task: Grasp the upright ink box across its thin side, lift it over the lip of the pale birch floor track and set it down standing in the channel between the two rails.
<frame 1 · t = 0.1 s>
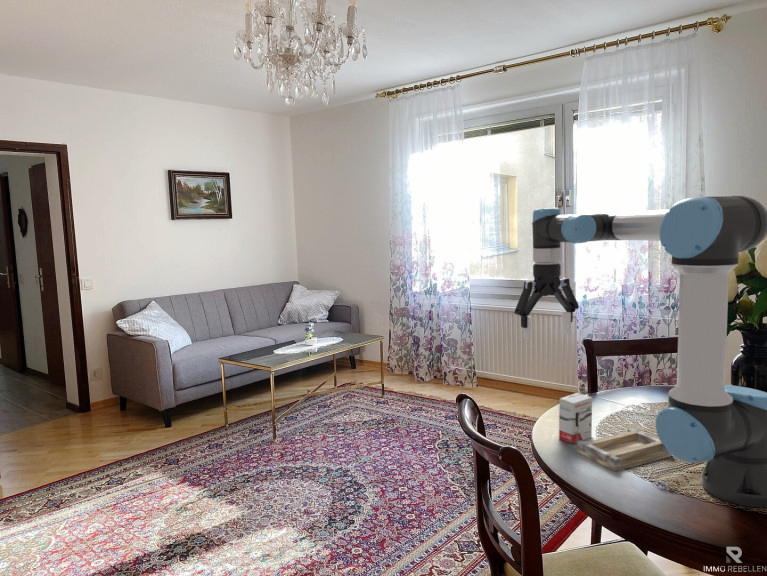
hand: (547, 336, 159), 28 cm above the table, fingers open, 13 cm apart
ink box: (575, 438, 155), on the table
track: (623, 453, 143), on the table
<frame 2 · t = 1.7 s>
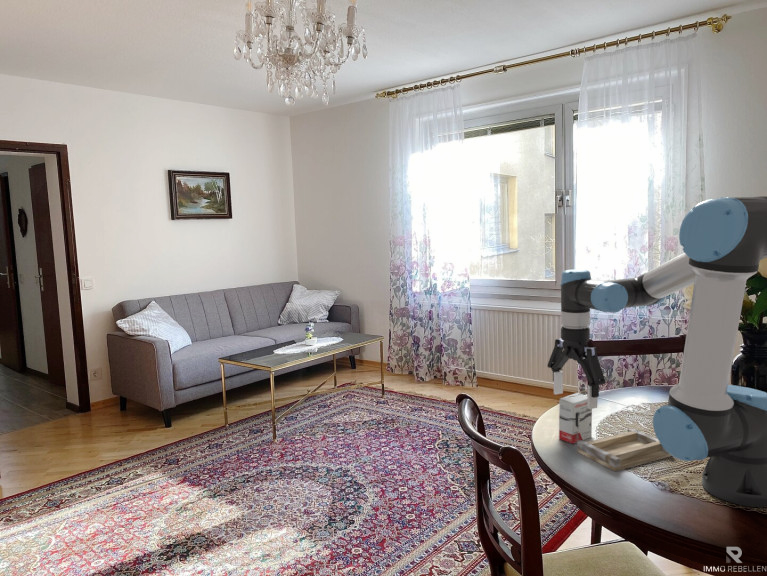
hand: (574, 400, 154), 11 cm above the table, fingers open, 13 cm apart
nothing on the table moved.
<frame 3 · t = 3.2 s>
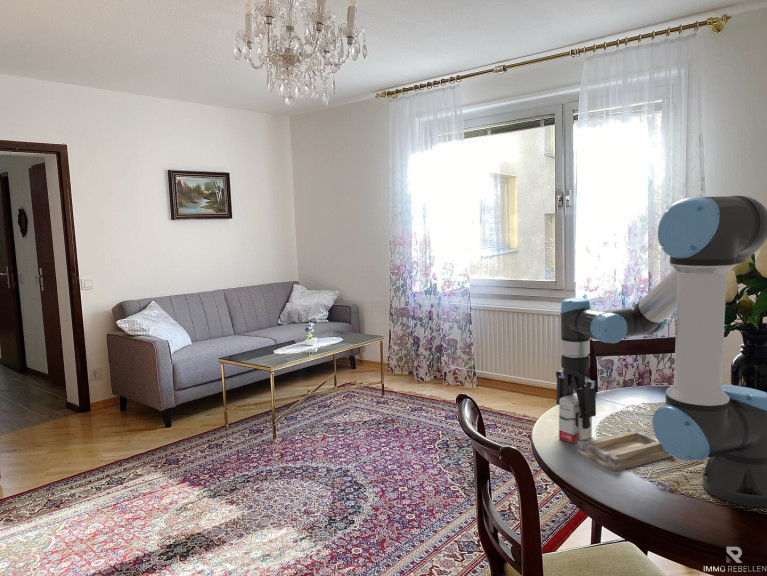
hand: (575, 434, 155), 1 cm above the table, fingers closed on ink box, 6 cm apart
ink box: (575, 438, 155), on the table, touching gripper
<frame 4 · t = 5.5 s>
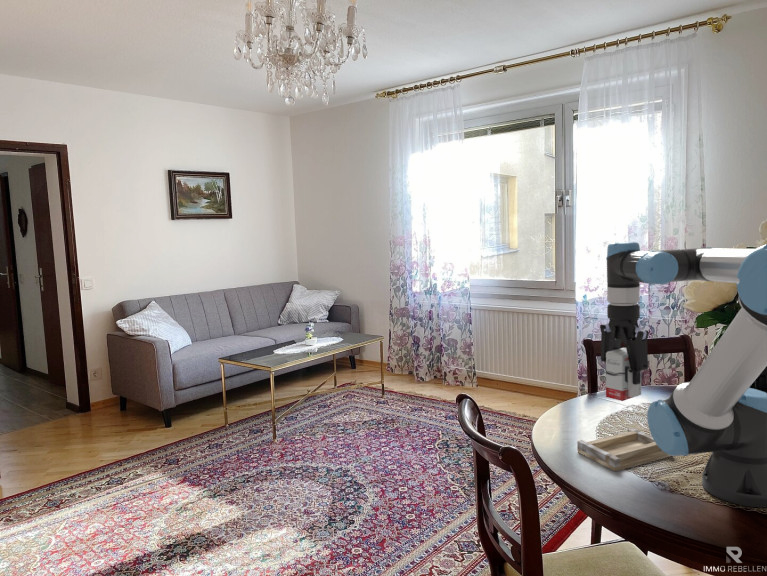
hand: (623, 392, 141), 16 cm above the table, fingers closed on ink box, 6 cm apart
ink box: (623, 396, 141), point 15 cm above the table, touching gripper
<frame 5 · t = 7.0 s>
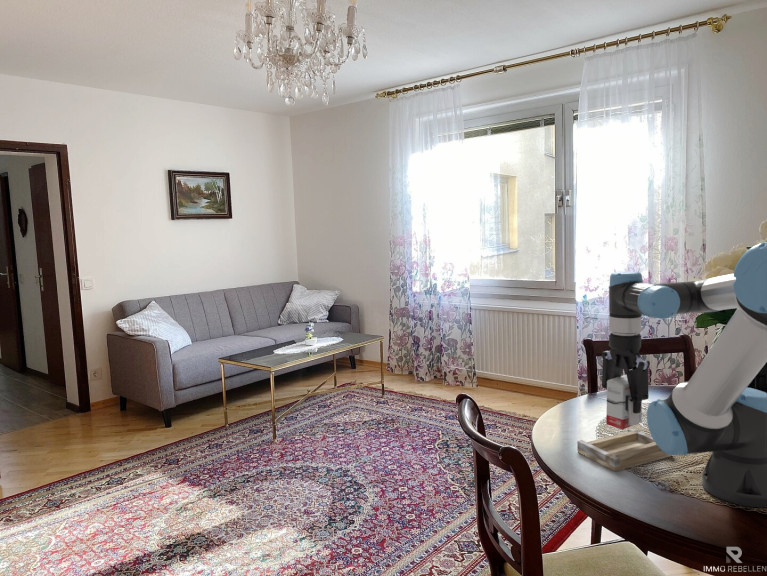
hand: (623, 420, 142), 9 cm above the table, fingers closed on ink box, 6 cm apart
ink box: (624, 424, 142), point 8 cm above the table, touching gripper
when the fingers open (5 cm above the table, at t = 8.1 s): ink box drops 3 cm, resting on track.
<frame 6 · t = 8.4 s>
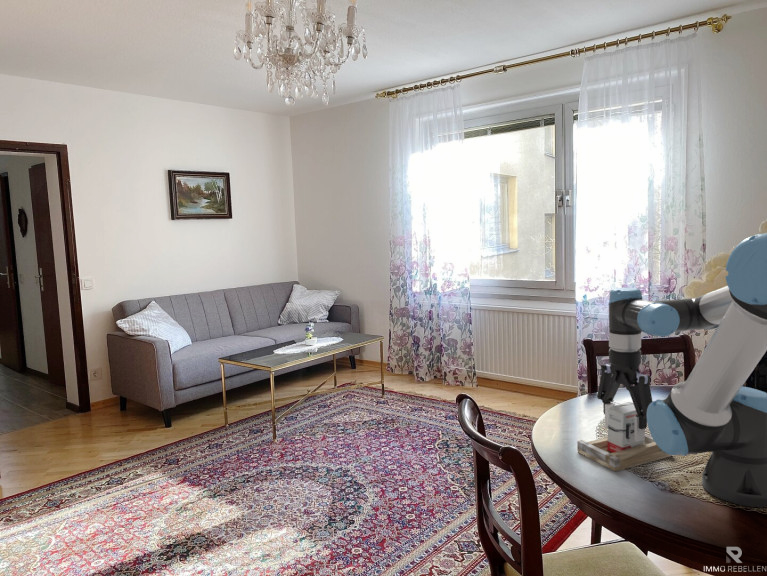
hand: (624, 433, 143), 6 cm above the table, fingers open, 9 cm apart
ink box: (625, 451, 143), point 1 cm above the table, touching track
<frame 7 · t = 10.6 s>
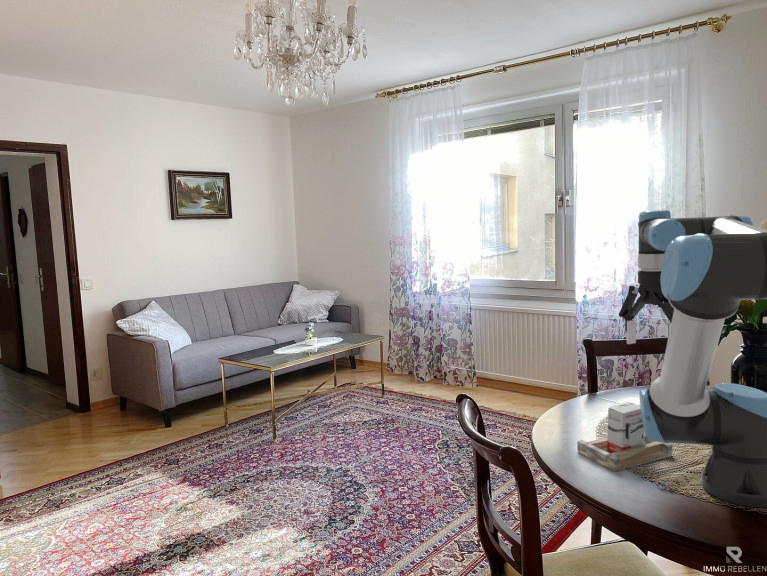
hand: (652, 348, 148), 26 cm above the table, fingers open, 13 cm apart
nothing on the table moved.
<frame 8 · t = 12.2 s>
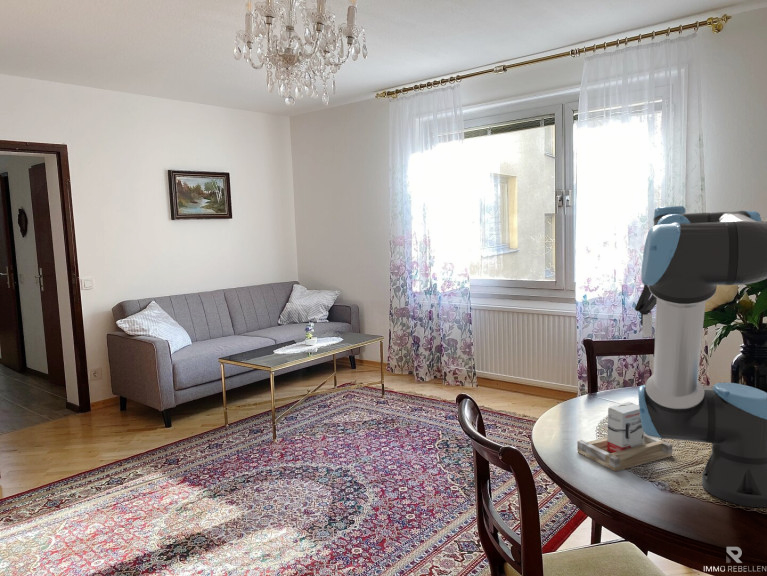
hand: (667, 341, 151), 27 cm above the table, fingers open, 13 cm apart
nothing on the table moved.
at the end: ink box inside the target area on the track (0.5 cm from its centre), point 0.8 cm above the track's base; ink box tilted 0°; the gripper is holding nothing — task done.
